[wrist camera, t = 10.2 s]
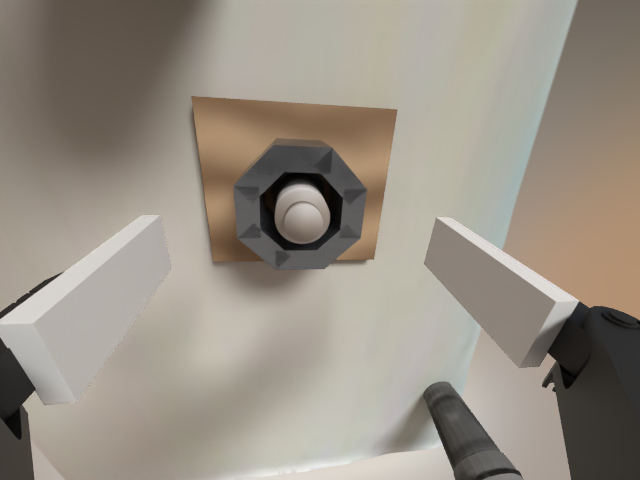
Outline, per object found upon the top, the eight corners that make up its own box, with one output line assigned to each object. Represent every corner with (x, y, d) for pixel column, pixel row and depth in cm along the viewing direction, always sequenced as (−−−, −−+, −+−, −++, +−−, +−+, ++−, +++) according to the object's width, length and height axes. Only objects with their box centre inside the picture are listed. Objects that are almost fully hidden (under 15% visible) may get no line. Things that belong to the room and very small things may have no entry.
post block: (196, 97, 21) (136, 83, 12) (392, 110, 23) (453, 105, 14) (216, 255, 26) (184, 318, 18) (370, 254, 28) (405, 310, 20)
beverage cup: (426, 373, 38) (552, 603, 20) (468, 376, 40) (622, 592, 22) (408, 406, 41) (504, 633, 23) (448, 407, 42) (569, 622, 24)
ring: (243, 136, 21) (229, 142, 16) (351, 141, 22) (372, 149, 17) (250, 236, 25) (239, 270, 19) (341, 236, 26) (356, 268, 20)
